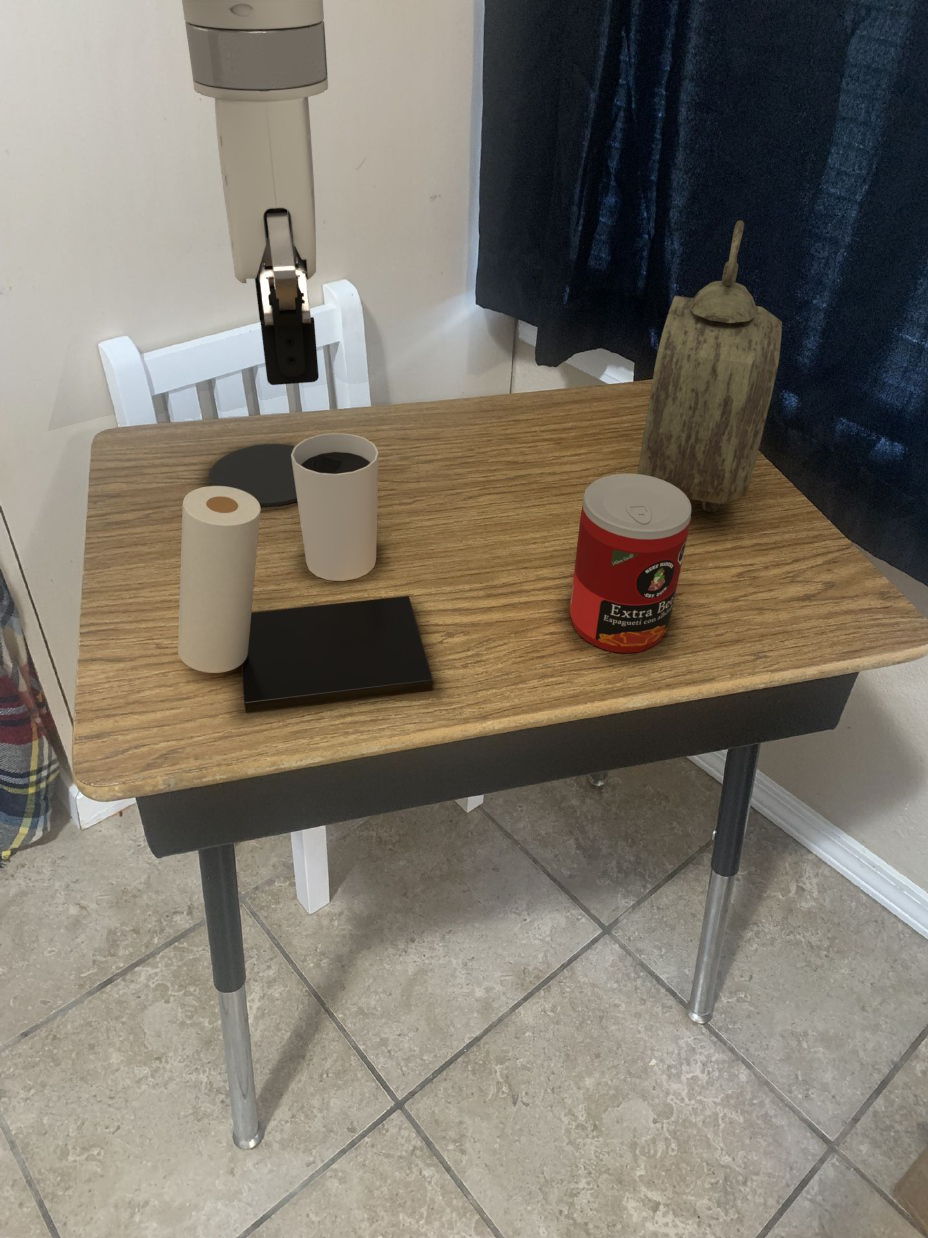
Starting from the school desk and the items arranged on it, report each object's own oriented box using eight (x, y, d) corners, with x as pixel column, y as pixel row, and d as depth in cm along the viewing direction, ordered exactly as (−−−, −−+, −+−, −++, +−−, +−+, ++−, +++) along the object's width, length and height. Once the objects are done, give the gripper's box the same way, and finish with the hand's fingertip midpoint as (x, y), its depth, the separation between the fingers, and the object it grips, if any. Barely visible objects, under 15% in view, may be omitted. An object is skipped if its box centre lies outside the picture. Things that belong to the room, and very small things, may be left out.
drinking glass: (300, 586, 78) (290, 476, 72) (300, 540, 83) (291, 434, 77) (384, 582, 79) (381, 473, 73) (379, 536, 84) (376, 431, 78)
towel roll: (249, 674, 68) (177, 673, 66) (246, 631, 72) (177, 629, 70) (262, 526, 61) (182, 522, 59) (258, 487, 65) (183, 482, 63)
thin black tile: (245, 713, 67) (243, 703, 66) (240, 623, 74) (238, 613, 74) (433, 690, 69) (433, 679, 68) (409, 605, 77) (409, 595, 76)
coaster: (210, 511, 86) (209, 507, 86) (208, 452, 95) (208, 448, 95) (334, 501, 88) (334, 497, 88) (322, 443, 97) (322, 439, 97)
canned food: (598, 665, 72) (617, 539, 65) (550, 603, 77) (563, 481, 71) (688, 642, 74) (715, 519, 67) (635, 584, 80) (655, 464, 73)
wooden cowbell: (648, 462, 96) (693, 193, 80) (743, 478, 94) (807, 205, 78) (626, 540, 85) (673, 246, 69) (732, 559, 83) (805, 261, 67)
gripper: (191, 34, 61) (227, 305, 71) (188, 91, 47) (234, 413, 58) (312, 33, 62) (330, 299, 73) (343, 88, 49) (360, 403, 59)
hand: (287, 350), depth 65 cm, fingers open, 9 cm apart
